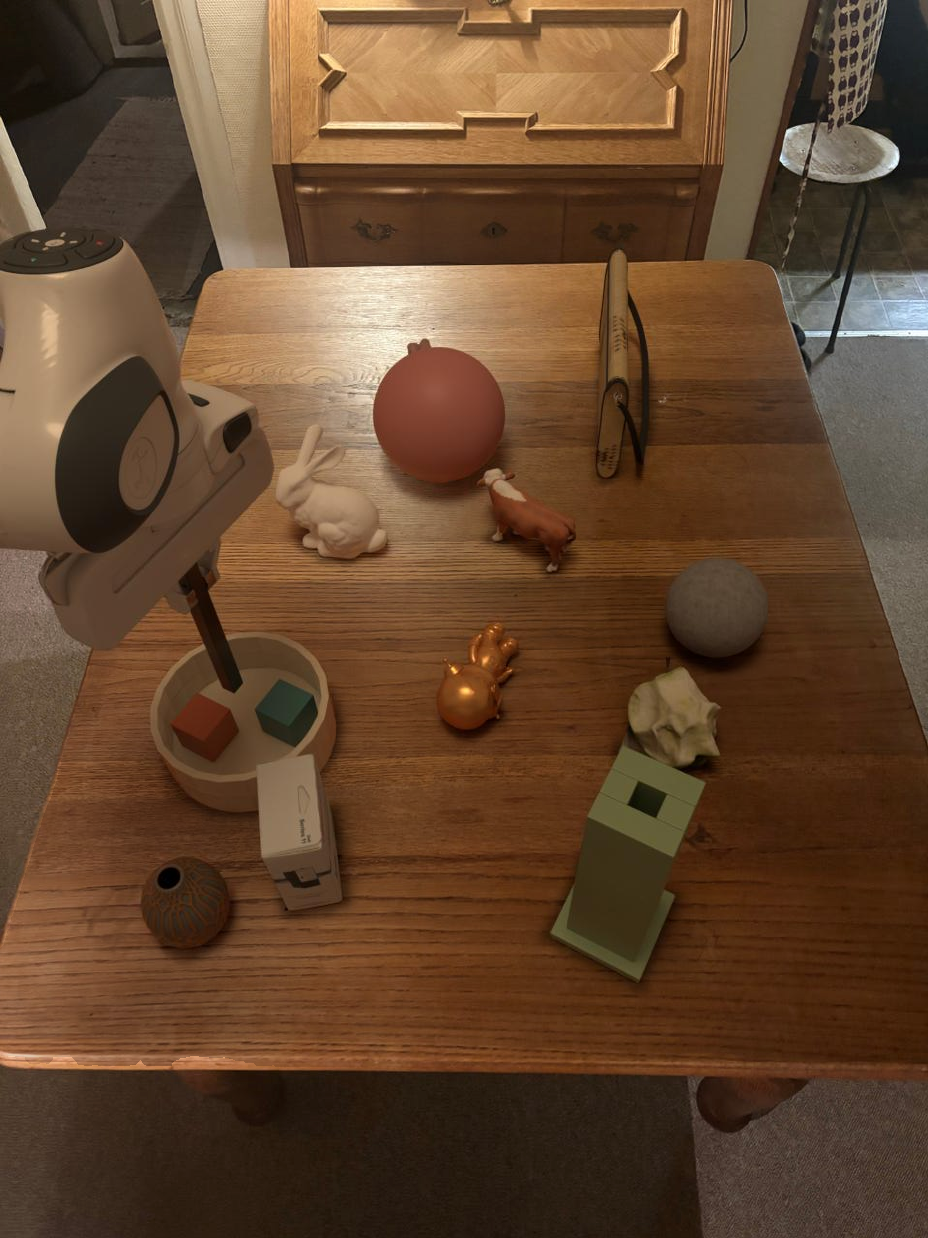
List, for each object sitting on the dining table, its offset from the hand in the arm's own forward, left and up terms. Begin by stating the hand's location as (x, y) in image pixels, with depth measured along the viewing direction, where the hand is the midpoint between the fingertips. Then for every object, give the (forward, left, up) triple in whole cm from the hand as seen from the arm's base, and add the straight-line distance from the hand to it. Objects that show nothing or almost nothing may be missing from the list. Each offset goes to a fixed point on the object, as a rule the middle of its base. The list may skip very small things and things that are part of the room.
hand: (196, 593), depth 72 cm
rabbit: (+26, +8, -22) cm, 35 cm away
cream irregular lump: (+19, -36, -22) cm, 46 cm away
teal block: (+2, -3, -21) cm, 21 cm away
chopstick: (0, 0, -13) cm, 13 cm away
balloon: (+44, +4, -22) cm, 49 cm away
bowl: (0, 0, -22) cm, 22 cm away
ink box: (-8, -13, -22) cm, 27 cm away
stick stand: (0, -38, -22) cm, 44 cm away
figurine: (+15, -17, -22) cm, 32 cm away
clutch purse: (+62, -13, -22) cm, 67 cm away
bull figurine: (+35, -12, -22) cm, 43 cm away
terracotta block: (-3, +3, -21) cm, 21 cm away
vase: (-17, -7, -22) cm, 29 cm away
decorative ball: (+32, -35, -22) cm, 52 cm away
